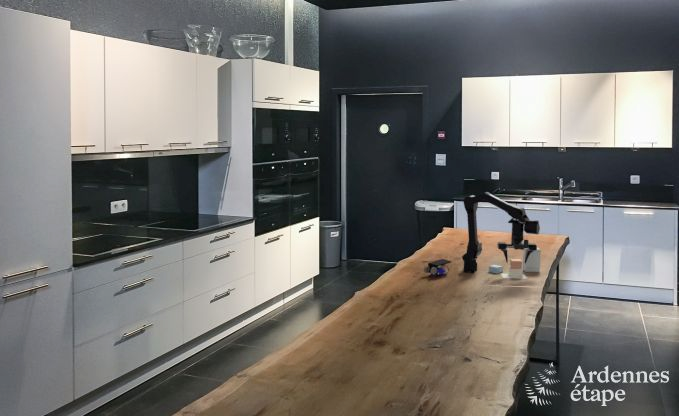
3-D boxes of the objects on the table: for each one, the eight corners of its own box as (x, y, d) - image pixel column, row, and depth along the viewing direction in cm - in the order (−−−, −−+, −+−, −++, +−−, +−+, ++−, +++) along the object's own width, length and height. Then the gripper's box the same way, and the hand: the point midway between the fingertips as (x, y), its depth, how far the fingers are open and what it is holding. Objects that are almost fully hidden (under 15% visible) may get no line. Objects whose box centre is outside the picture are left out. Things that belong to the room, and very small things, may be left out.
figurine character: (433, 281, 333) (452, 273, 343) (433, 266, 331) (452, 259, 341) (423, 279, 338) (441, 271, 348) (422, 264, 336) (441, 257, 346)
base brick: (510, 276, 335) (510, 269, 334) (508, 274, 341) (508, 266, 340) (522, 277, 334) (522, 269, 334) (520, 274, 340) (521, 266, 340)
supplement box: (539, 273, 347) (541, 249, 345) (525, 273, 347) (526, 249, 345) (536, 270, 354) (537, 246, 352) (521, 270, 354) (523, 246, 352)
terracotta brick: (509, 266, 340) (510, 258, 339) (520, 267, 339) (520, 259, 339) (511, 268, 335) (511, 261, 334) (521, 269, 334) (522, 261, 334)
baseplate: (502, 279, 332) (502, 277, 332) (500, 274, 342) (500, 273, 342) (527, 280, 331) (527, 278, 331) (524, 275, 341) (524, 274, 341)
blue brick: (488, 273, 346) (488, 266, 345) (494, 272, 349) (494, 264, 349) (497, 275, 342) (497, 267, 342) (502, 273, 345) (502, 266, 345)
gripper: (500, 234, 328) (499, 265, 330) (539, 235, 326) (538, 267, 328) (497, 230, 339) (496, 261, 341) (535, 232, 337) (533, 262, 339)
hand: (516, 263), depth 337 cm, fingers open, 9 cm apart
